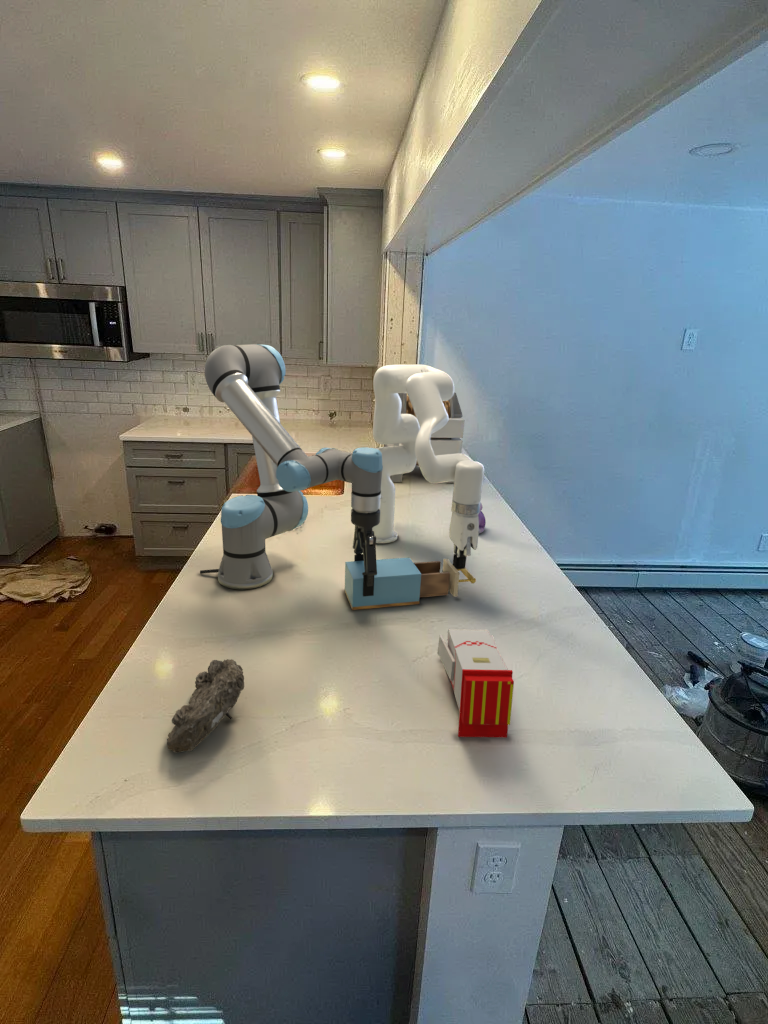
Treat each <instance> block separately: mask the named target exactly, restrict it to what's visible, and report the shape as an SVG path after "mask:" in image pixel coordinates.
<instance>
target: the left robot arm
mask: <svg viewBox="0 0 768 1024" xmlns="http://www.w3.org/2000/svg"><path fill="white" fill-rule="evenodd" d="M286 371H287V370H286V364H285V361H284V359H283V357H282V355H281V353H280V352H279V351H278V350H277V349H276V348H274V347H273V346H271V345H268V344H262V343H261V344H260V343H254V344H225V345H221V346H219V347H216V348H215V349H213V351H211V353H210V354H209V355H208V356H207V358H206V361H205V364H204V379H205V382H206V384H207V387H208V388H209V391H210V392H211V394H212V395H213V396H214V397H215V398H216V400H217V401H218V402H220V403H224V404H225V405H226V406H227V407H228V408H229V409H230V411H231V412H232V413H233V415H234V416H235V417H236V418H237V419H238V421H239V422H240V423H241V424H242V426H244V428H245V429H246V431H248V433H249V434H250V435H251V439H252V444H253V447H254V456H255V461H256V465H257V473H258V477H259V482H260V485H259V486H258V488H257V489H256V495H255V494H246V495H238V496H234V497H232V498H230V499H228V500H226V501H225V502H224V503H223V505H222V507H221V510H220V525H221V539H222V553H223V554H222V558H221V560H220V565H219V568H213V569H211V568H209V569H201V570H200V571H199V574H201V575H202V574H203V575H204V574H214V573H217V581H218V583H219V584H220V585H221V586H223V587H224V588H228V589H231V590H253V589H257V588H260V587H263V586H265V585H267V584H268V583H270V582H271V581H272V579H273V576H274V575H273V573H274V572H273V567H272V564H271V562H270V559H269V557H268V554H267V552H266V551H267V550H266V540H267V539H270V538H272V537H275V536H279V535H280V534H281V535H282V534H283V533H287V532H291V531H293V530H295V529H297V528H300V527H301V526H302V525H304V523H305V521H306V520H307V518H308V514H309V503H308V500H307V497H306V496H305V495H304V493H303V492H302V491H305V490H307V489H309V488H313V487H315V486H319V485H323V484H327V483H330V482H334V481H341V482H344V483H349V484H351V493H350V494H351V495H350V497H351V498H350V507H351V510H350V522H351V524H352V525H354V533H353V539H352V549H353V553H354V559H353V561H364V569H365V572H363V573H362V575H363V597H364V596H374V575H377V563H376V560H377V543H376V536H374V531H372V528H373V527H374V526H376V525H378V524H379V523H380V510H379V508H380V503H381V501H380V499H383V496H382V495H381V480H382V469H383V465H382V453H381V451H379V450H378V449H375V448H376V447H367V446H366V447H365V446H363V447H362V446H361V447H357V448H354V449H353V451H352V452H348V451H345V450H341V449H338V448H335V447H322V448H320V449H319V450H318V451H317V452H315V454H312V455H307V454H306V452H305V451H304V450H303V448H302V447H301V446H300V445H299V444H298V443H297V442H296V441H295V439H294V438H293V437H292V435H290V433H289V432H288V431H287V429H286V428H285V427H284V426H283V424H282V423H281V419H280V413H279V407H278V401H277V397H278V395H279V394H280V393H281V387H280V385H281V384H282V383H283V381H284V380H285V376H286Z"/></svg>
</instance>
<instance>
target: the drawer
mask: <svg viewBox="0 0 768 1024" xmlns="http://www.w3.org/2000/svg"><path fill="white" fill-rule="evenodd" d="M413 563H414V564H415V566H416V567H417V569H418V570H419V571H420V573H421V584H420V598H429V597H440V596H448V595H449V593H450V594H451V595H452V597H454V598H455V597H458V595H459V594H458V593H459V584H460V583H467V582H469V583H471V584H475V583H476V582H477V579H476V577H475V576H474V575H473V573H471V572H470V571H469V569H468V568H467V567H466V566H465V568H464V569H456V568H455V567H454V566H453V562H452V561H450V559H448V558H443V561H442V562H441V560H433V561H419V562H413ZM441 565H442V571H441ZM460 572H461V573H462V574H463V575H464V577H465V578H463V579H460Z"/></svg>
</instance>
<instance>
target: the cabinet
mask: <svg viewBox="0 0 768 1024" xmlns="http://www.w3.org/2000/svg"><path fill="white" fill-rule="evenodd" d="M376 563H377V575H374V596H364V597H363V575H362V573H363V572H365V569H364V561H354V560H352V561H344V564H345V565H344V593H345V596H346V598H347V601H348V603H349V605H350V608H351V611H356V610H369V609H379V608H390V607H399V606H400V607H401V606H402V607H403V606H412V605H419V604H420V598H421V597H420V584H421V573H420V571H419V570H418V569H417V567H416V566H415V564H414V563H415V562H413V559H411V557H398V558H397V557H395V558H394V557H393V558H382V559H381V558H380V559H376Z"/></svg>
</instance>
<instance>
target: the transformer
mask: <svg viewBox="0 0 768 1024" xmlns="http://www.w3.org/2000/svg"><path fill="white" fill-rule="evenodd" d="M398 395H399V397H400V399H401V402H402V408H401V414H411V415H414V416H415V417H416V415H415V412H414V409H413V407H412V404H411V402H410V399H409V396H408V394H407V393H398ZM442 402H443V404H444V407H445V409H446V412H447V414H448V417H449V420H448V422H447V424H446V425H445V426H444V427H442V428H441V429H440V430H438V431H436V432H434V433H433V434H431V437H430V443H431V447H432V450H433V452H434V455H435V456H436V455H445V454H456V453H462V454H463V442H464V441H463V440H462V439H463V438H464V431H465V430H464V429H465V419H464V418H463V411H462V408H461V405H460V402H459V398H458V395H457V392H455V391H454V394H453V396H452V398H451V399H449V400H447V401H442ZM416 418H417V417H416ZM419 426H420V425H419ZM389 446H399V444H386V445H383V447H389ZM417 466H418V467H419V464H418V462H416V466H415V467H417ZM403 475H404V474H396V475H391V476H390V479H391V481H392V482H393V483H402V482H403ZM447 483H449V484H454V481H450V482H447Z"/></svg>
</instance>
